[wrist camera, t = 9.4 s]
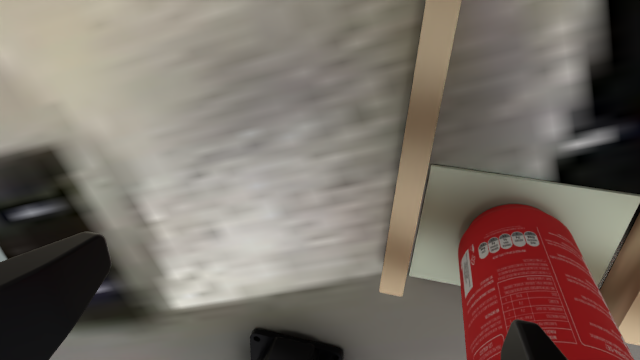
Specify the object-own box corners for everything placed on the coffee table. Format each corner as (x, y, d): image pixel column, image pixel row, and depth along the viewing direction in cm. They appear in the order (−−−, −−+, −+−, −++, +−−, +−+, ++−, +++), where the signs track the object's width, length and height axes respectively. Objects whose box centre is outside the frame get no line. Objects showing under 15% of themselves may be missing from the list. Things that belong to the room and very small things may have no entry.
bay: (615, 313, 22) (649, 380, 18) (382, 268, 24) (374, 320, 20) (879, -161, 12) (1052, -205, 9) (452, -164, 14) (458, -201, 11)
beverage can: (574, 194, 19) (740, 473, 9) (564, 281, 21) (686, 586, 11) (455, 197, 21) (478, 440, 10) (458, 279, 23) (479, 545, 12)
